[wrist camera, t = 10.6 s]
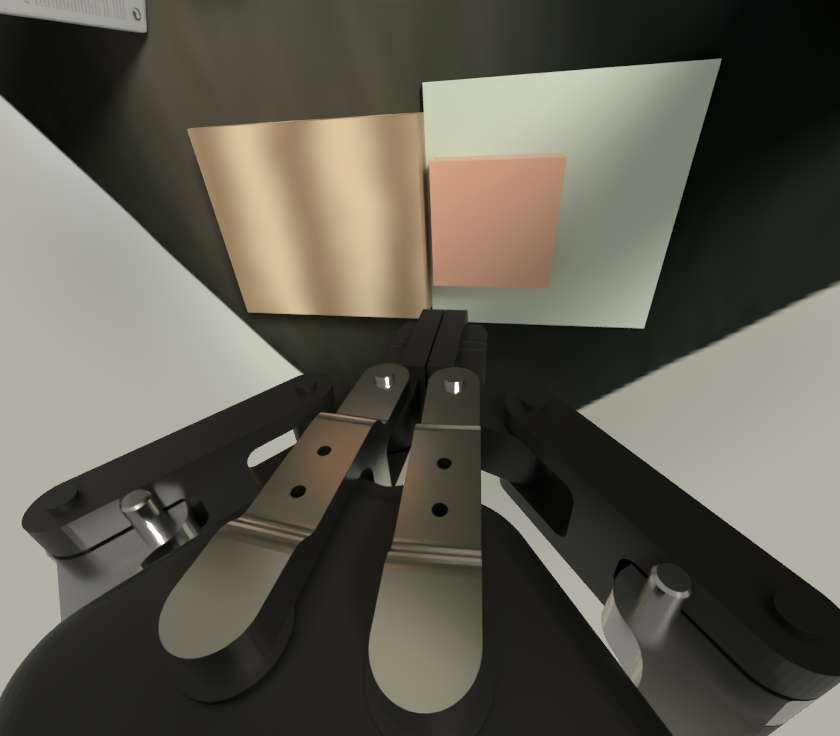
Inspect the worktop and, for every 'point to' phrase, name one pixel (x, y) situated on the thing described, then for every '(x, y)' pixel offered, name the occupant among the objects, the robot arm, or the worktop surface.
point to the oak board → (323, 213)
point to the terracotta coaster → (495, 219)
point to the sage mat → (582, 179)
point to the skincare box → (83, 12)
